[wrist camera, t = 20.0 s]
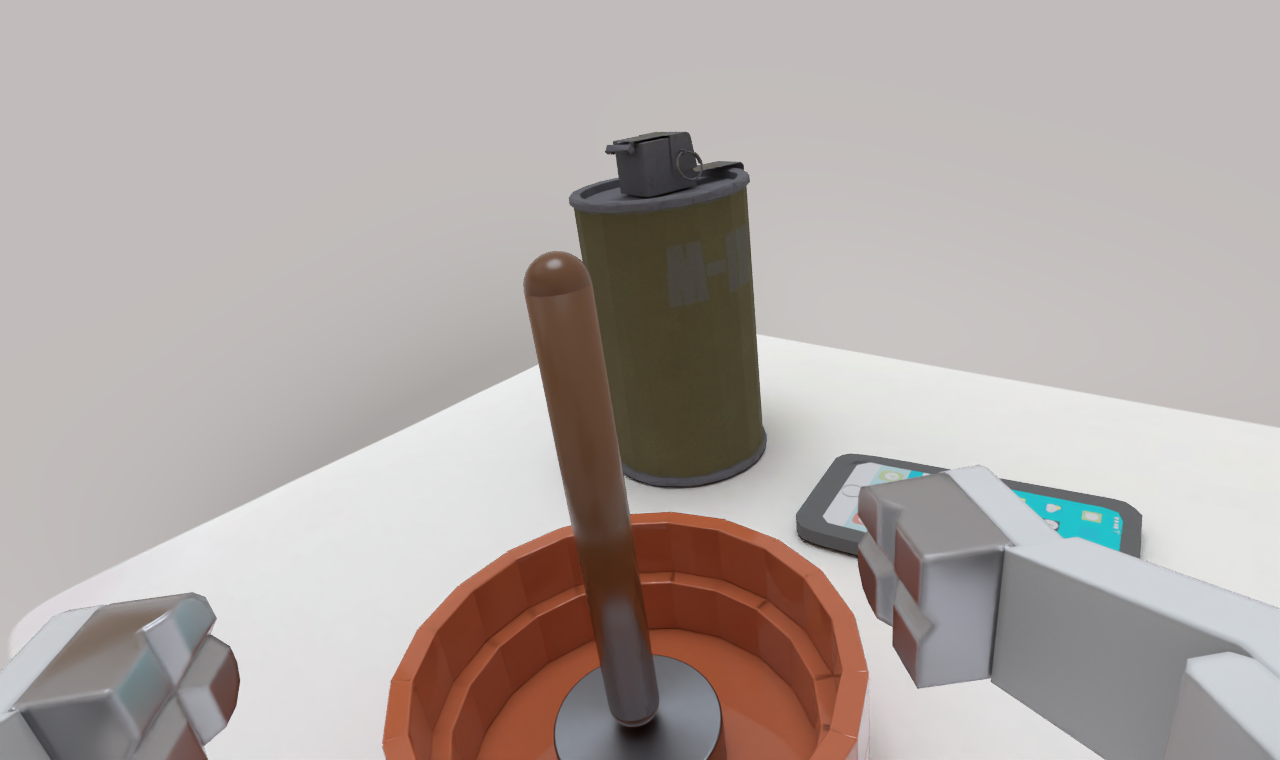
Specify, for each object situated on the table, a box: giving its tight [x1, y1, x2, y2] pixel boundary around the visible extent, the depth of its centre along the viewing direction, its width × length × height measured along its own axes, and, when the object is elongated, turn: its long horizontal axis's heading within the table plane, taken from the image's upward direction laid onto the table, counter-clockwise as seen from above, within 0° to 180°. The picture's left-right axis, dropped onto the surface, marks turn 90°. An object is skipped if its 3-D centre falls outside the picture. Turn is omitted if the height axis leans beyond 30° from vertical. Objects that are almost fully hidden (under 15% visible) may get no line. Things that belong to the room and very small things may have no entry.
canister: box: [569, 132, 767, 486], centre depth 44 cm, size 11×10×20 cm
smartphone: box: [796, 454, 1142, 559], centre depth 36 cm, size 9×1×15 cm
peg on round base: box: [523, 251, 727, 760], centre depth 22 cm, size 6×6×19 cm
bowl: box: [382, 512, 869, 760], centre depth 25 cm, size 16×16×6 cm
